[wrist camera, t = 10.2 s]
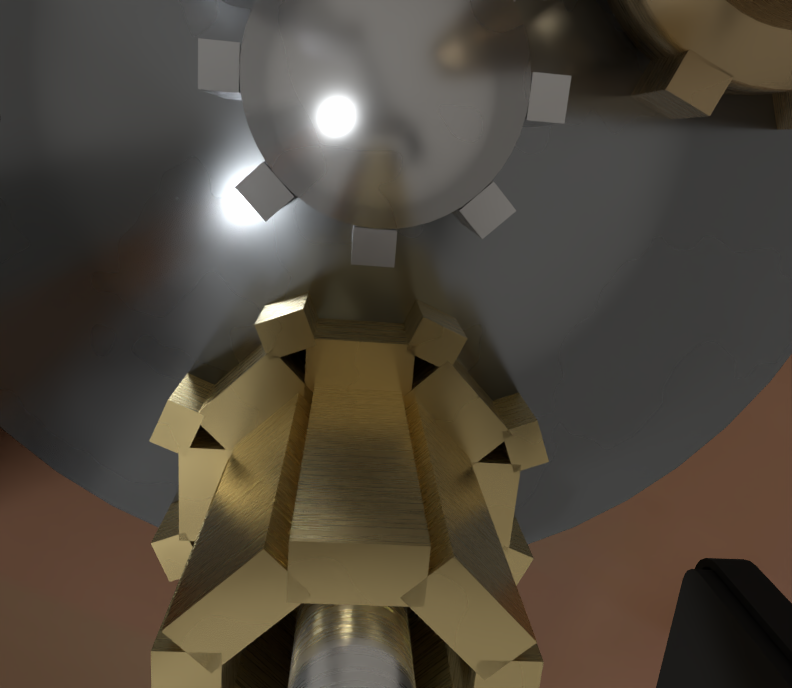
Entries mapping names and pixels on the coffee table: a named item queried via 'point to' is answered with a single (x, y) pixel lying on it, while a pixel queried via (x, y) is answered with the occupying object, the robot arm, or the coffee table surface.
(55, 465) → the carrier
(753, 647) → the robot arm
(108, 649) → the coffee table surface
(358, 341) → the gear
